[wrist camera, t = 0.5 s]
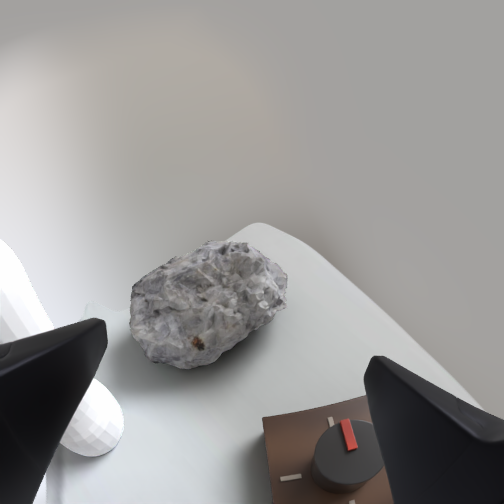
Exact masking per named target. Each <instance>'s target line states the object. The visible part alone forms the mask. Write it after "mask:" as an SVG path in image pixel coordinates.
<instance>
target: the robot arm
mask: <svg viewBox="0 0 504 504" xmlns="http://www.w3.org/2000/svg"><path fill="white" fill-rule="evenodd" d="M107 344H108V339H107V330H106V323H105V321H104V320H102V319H98V318H91V319H87V320H84V321H81V322H77V323H74V324H71V325H67V326H64V327H60V328H57V329H53V330H50V331H47V332H43V333H40V334H36V335H33V336H29V337H26V338H22V339H19V340H15V341H13V342H8V343H4V344H0V504H33V501H34V499H35V496H36V494H37V491H38V489H39V487H40V484H41V482H42V480H43V477H44V476H43V475H45V472H46V470H47V468H48V466H49V464H50V462H51V459H52V457H53V455H54V453H55V451H56V449H57V447H58V445H59V443H60V441H61V439H62V437H63V435H64V433H65V431H66V429H67V427H68V425H69V423H70V421H71V419H72V417H73V415H74V413H75V412H76V410H77V408H78V406H79V404H80V402H81V400H82V399H83V397H84V395H85V393H86V391H87V390H88V388H89V386H90V384H91V382H92V380H93V378H94V376H95V374H96V371H97V369H98V367H99V364H100V362H101V360H102V357H103V355H104V353H105V350H106V348H107ZM364 385H365V390H366V395H367V401H368V406H369V411H370V416H371V420H372V423H373V427H374V430H375V433H376V437H377V440H378V444H379V447H380V451H381V455H382V458H383V462H384V466H385V470H386V473H387V477H388V481H389V485H390V490H391V494H392V498H393V502H394V504H504V420H503V419H500V418H498V417H496V416H494V415H491V414H489V413H487V412H485V411H483V410H480V409H478V408H476V407H474V406H472V405H470V404H468V403H466V402H465V401H463V400H461V399H459V398H456V397H455V396H454V395H452V394H450V393H448V392H446V391H445V390H443V389H441V388H439V387H437V386H436V385H434V384H432V383H430V382H429V381H427V380H425V379H423V378H421V377H420V376H418V375H416V374H414V373H413V372H411V371H409V370H407V369H406V368H404V367H402V366H400V365H399V364H397V363H395V362H393V361H392V360H390V359H388V358H387V357H385V356H373V357H372V358H371V360H370V362H369V365H368V367H367V369H366V372H365V374H364Z"/></svg>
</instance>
